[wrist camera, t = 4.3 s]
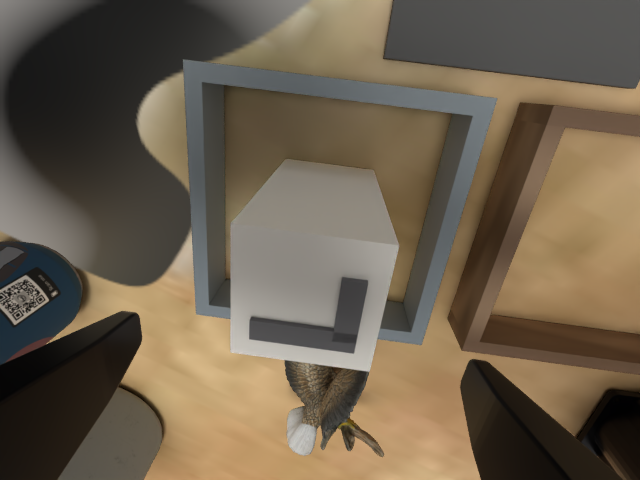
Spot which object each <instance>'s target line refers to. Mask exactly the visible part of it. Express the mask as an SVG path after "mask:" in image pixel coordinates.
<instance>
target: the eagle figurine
mask: <svg viewBox="0 0 640 480" xmlns="http://www.w3.org/2000/svg"><path fill="white" fill-rule="evenodd" d="M285 367H286V369H285V371H286V376H287V380H288V381H289V383H290V386H291V387H292V389H293V391H294V392H296V394H297V395H298V397H300V398H301V401H302V402H303V403H304V404H305V406H302V407H298V408H295V409H292V410H291V411H290V412H289V415H288V418H287V438H288V445H289V447H290V448H291V449H292V450H293V452H295V453H298V454H299V455H304V456H305V455H309V454H310V453H311V452H312V450H313V448H314V444H315V439H316V432H317V428H318V427H319V426H320V425H321V429H322V436H323V439H322V442H321V449H322V450H324V449H325V447H326V444H327V442H328V440H329V439H330V437H331V436H332V434H333V433H334V432H336V429H337V428H338V429H341V431H342V435H343V439H344V442H345V445H346V448H347V450H348V451H351V450H352V448H353V446H354V441H355V439H354V436H355V437H357V438H359V439H360V440H362V441H363V442H365V443H366V444H367V445H369V446H370V447H371V448H372V449H373V451H374V452H375V453H376V454H377V455H379V456H381V457H383V456H384V453H383V451H382V449H381V448H380V446H379V444H378V443H377V442H376V440H375V439H374V438H373V437H372V436H371V435H369V434H368V433H367V432H365V431H363V430H361V429H360V427H359V426H358V425H357V424H356V423H354V421H353V420H351V419H350V412H352V411H353V408H354V406H355V405H356V403H357V401H358V399H359V397H360V395H361V393H362V391H363V389H364V387H365V385H366V381H367V377H368V375H369V372H368V371H361V370H354V369H346V368H342V369H341V371H340V372H338V373H337V374H336V373H335V372H334V371H333V369H332V366H325V365H318V364H310V363H303V362H296V361H289V360H285Z"/></svg>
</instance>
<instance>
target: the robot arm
mask: <svg viewBox="0 0 640 480" xmlns="http://www.w3.org/2000/svg"><path fill="white" fill-rule="evenodd" d="M141 341H142V332H141V324H140V318H139V315H138V314H137V313H135V312H128V311H121V312H118V313H116V314H114V315H111V316H109V317H107V318H105V319H102V320H100V321H98V322H96V323H93V324H91V325H89V326H87V327H84V328H82V329H80V330H78V331H75V332H73V333H71V334H69V335H66V336H64V337H62V338H60V339H57V340H55V341H53V342H51V343H48V344H46V345H44V346H42V347H39V348H37V349H35V350H32V351H30V352H28V353H26V354H23V355H21V356H19V357H17V358H14V359H12V360H10V361H8V362H5V363H3V364H1V365H0V480H58V478H59V477H60V475H61V474H62V472H63V471H64V469H65V468H66V466H67V465H68V463H69V462H70V460H71V459H72V457H73V456H74V454H75V453H76V451H77V450H78V448H79V447H80V445H81V444H82V442H83V441H84V439H85V438H86V436H87V435H88V433H89V432H90V430H91V429H92V427H93V426H94V424H95V423H96V421H97V420H98V418H99V417H100V415H101V414H102V412H103V411H104V409H105V408H106V406H107V405H108V403H109V402H110V400H111V398H112V397H113V395H114V393H115V392H116V390H117V388H118V386H119V384H120V382H121V380H122V379H123V377H124V375H125V373H126V371H127V369H128V367H129V365H130V364H131V362H132V360H133V358H134V356H135V354H136V352H137V350H138V349H139V347H140V345H141ZM460 388H461V395H462V400H463V405H464V410H465V416H466V421H467V426H468V431H469V437H470V441H471V446H472V450H473V454H474V457H475V461H476V464H477V468H478V471H479V474H480V478H481V480H640V393H634V392H626V391H619V390H612V391H610V392H608V393H607V394H606V395H605V397H604V398H603V400H602V401H601V403H600V404H599V406H598V407H597V409H596V410H595V412H594V414H593V415H592V417H591V418H590V420H589V421H588V423H587V424H586V426H585V427H584V429H583V430H582V432H581V433H580V435H579V436H578V438H577V439H576V438H575V437H574V436H573V435H572V434H571V433H569V432H568V431H567V430H566V429H565V428H564V427H562V426H561V425H560V424H559V423H558V422H557V421H556V420H554V419H553V418H552V417H551V416H550V415H549V414H547V413H546V412H545V411H544V410H543V409H542V408H541V407H539V406H538V405H537V404H536V403H535V402H534V401H532V400H531V399H530V398H529V397H528V396H527V395H526V394H524V393H523V392H522V391H521V390H520V389H519V388H517V387H516V386H515V385H514V384H513V383H512V382H511V381H509V380H508V379H507V378H506V377H505V376H504V375H502V374H501V373H500V372H499V371H498V370H497V369H496V368H494V367H493V366H492V365H491V364H490V363H488V362H487V361H483V360H476V359H472V360H470V361H469V363H468V365H467V367H466V370H465V372H464V375H463V377H462V380H461V385H460ZM597 456H598V457H599V458H598V457H597Z"/></svg>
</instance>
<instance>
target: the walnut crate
mask: <svg viewBox="0 0 640 480" xmlns="http://www.w3.org/2000/svg"><path fill="white" fill-rule="evenodd" d="M565 127H567V128H575V129H583V130H591V131H599V132H607V133H615V134H623V135H631V136H639V137H640V116H636V115H628V114H620V113H612V112H604V111H596V110H588V109H580V108H572V107H564V106H555V105H544V104H531V103H520V106H519V109H518V112H517V115H516V117H515V120H514V123H513V126H512V129H511V132H510V135H509V138H508V141H507V144H506V147H505V150H504V153H503V156H502V159H501V162H500V165H499V168H498V171H497V174H496V177H495V180H494V183H493V186H492V189H491V192H490V195H489V198H488V201H487V204H486V207H485V210H484V213H483V216H482V219H481V222H480V225H479V228H478V231H477V234H476V237H475V240H474V242H473V245H472V248H471V251H470V254H469V257H468V260H467V263H466V266H465V269H464V272H463V275H462V278H461V281H460V284H459V287H458V290H457V293H456V296H455V299H454V302H453V305H452V308H451V311H450V314H449V317H448V321H449V323H450V325H451V327H452V330H453V332H454V334H455V336H456V339H457V341H458V343H459V345H460V348H461V350H462V351H468V352H476V353H483V354H490V355H498V356H505V357H512V358H520V359H527V360H534V361H542V362H549V363H556V364H564V365H571V366H578V367H586V368H593V369H600V370H608V371H615V372H622V373H630V374H637V375H640V335H638V334H631V333H623V332H616V331H608V330H601V329H594V328H586V327H579V326H571V325H564V324H556V323H549V322H541V321H534V320H527V319H519V318H512V317H504V316H497V315H490V314H491V312H492V309H493V307H494V304H495V302H496V299H497V297H498V294H499V292H500V289H501V287H502V284H503V282H504V279H505V277H506V274H507V272H508V269H509V267H510V264H511V262H512V259H513V257H514V254H515V252H516V249H517V247H518V244H519V242H520V239H521V237H522V234H523V232H524V229H525V227H526V224H527V222H528V219H529V217H530V214H531V212H532V209H533V207H534V204H535V202H536V199H537V196H538V194H539V191H540V189H541V186H542V184H543V181H544V179H545V176H546V174H547V171H548V169H549V166H550V164H551V161H552V159H553V156H554V154H555V151H556V149H557V146H558V144H559V141H560V139H561V136H562V134H563V131H564V129H565Z"/></svg>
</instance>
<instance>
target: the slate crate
mask: <svg viewBox="0 0 640 480" xmlns="http://www.w3.org/2000/svg"><path fill="white" fill-rule="evenodd" d="M183 70H184V89H185V109H186V128H187V148H188V167H189V187H190V206H191V226H192V245H193V265H194V284H195V304H196V314H197V315H204V316H212V317H219V318H226V319H231V280H229V279H225V134H224V85H230V86H238V87H246V88H254V89H262V90H270V91H278V92H286V93H294V94H302V95H310V96H318V97H326V98H334V99H342V100H350V101H358V102H366V103H374V104H382V105H390V106H398V107H406V108H414V109H422V110H430V111H438V112H446V113H452V117H451V121H450V125H449V129H448V133H447V136H446V140H445V144H444V148H443V152H442V156H441V159H440V163H439V167H438V171H437V175H436V179H435V182H434V186H433V190H432V194H431V198H430V202H429V205H428V209H427V213H426V217H425V221H424V225H423V229H422V232H421V236H420V240H419V244H418V248H417V252H416V255H415V259H414V263H413V267H412V271H411V275H410V278H409V282H408V286H407V290H406V294H405V298H404V301H403V303H400V302H393V301H386V304H385V308H384V313H383V317H382V321H381V325H380V330H379V334H378V338H377V339H380V340H388V341H395V342H402V343H410V344H417V345H422V342H423V339H424V335H425V332H426V329H427V326H428V322H429V319H430V316H431V313H432V309H433V306H434V303H435V300H436V296H437V293H438V290H439V287H440V283H441V280H442V277H443V274H444V270H445V267H446V264H447V261H448V257H449V254H450V251H451V248H452V244H453V241H454V238H455V235H456V231H457V228H458V225H459V222H460V218H461V215H462V212H463V209H464V205H465V202H466V199H467V196H468V192H469V189H470V186H471V183H472V179H473V176H474V173H475V170H476V166H477V163H478V160H479V157H480V153H481V150H482V147H483V144H484V140H485V137H486V134H487V131H488V127H489V124H490V121H491V118H492V114H493V111H494V108H495V105H496V101H497V98H491V97H483V96H475V95H466V94H458V93H450V92H442V91H434V90H426V89H418V88H410V87H402V86H394V85H386V84H378V83H369V82H361V81H353V80H345V79H337V78H329V77H321V76H313V75H305V74H297V73H289V72H280V71H272V70H264V69H256V68H248V67H240V66H232V65H224V64H216V63H208V62H200V61H191V60H183Z"/></svg>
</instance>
